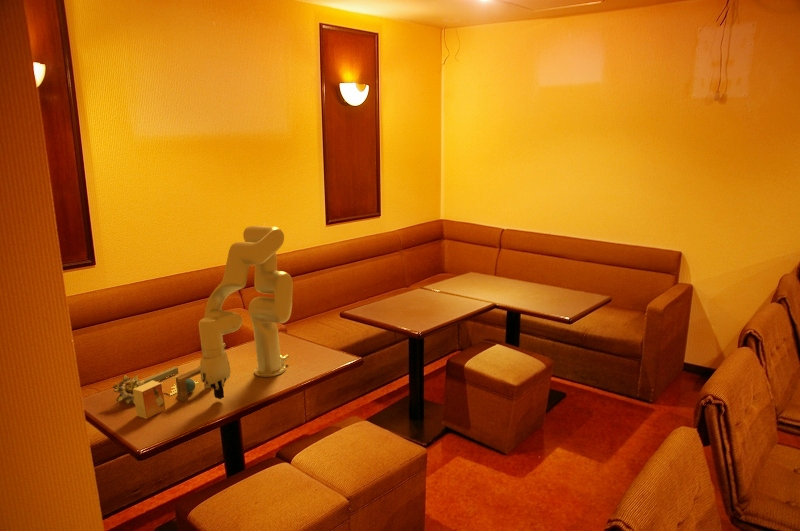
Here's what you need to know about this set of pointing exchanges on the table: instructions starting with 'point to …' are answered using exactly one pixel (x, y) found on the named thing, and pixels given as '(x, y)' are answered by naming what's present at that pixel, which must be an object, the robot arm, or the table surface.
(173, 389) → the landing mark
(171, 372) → the grey square bar
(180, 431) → the table surface
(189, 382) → the ball
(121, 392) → the passion flower
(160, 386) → the small box
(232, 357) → the table surface
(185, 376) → the bridge
